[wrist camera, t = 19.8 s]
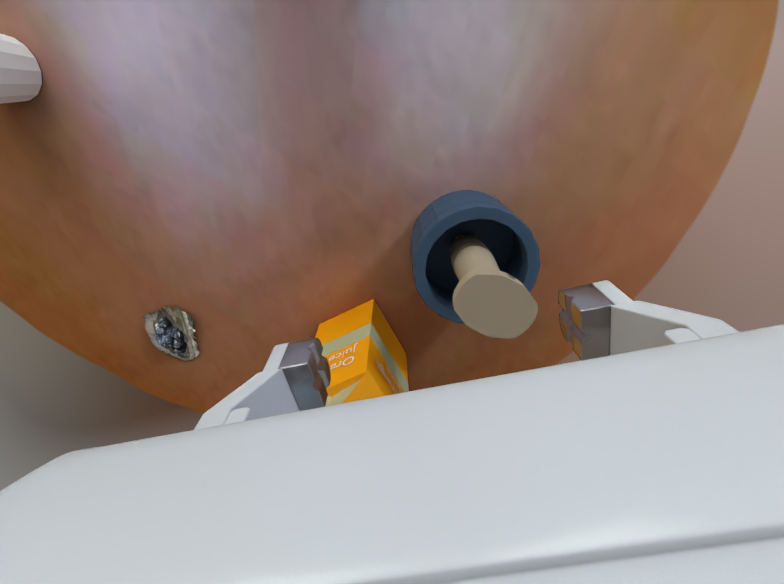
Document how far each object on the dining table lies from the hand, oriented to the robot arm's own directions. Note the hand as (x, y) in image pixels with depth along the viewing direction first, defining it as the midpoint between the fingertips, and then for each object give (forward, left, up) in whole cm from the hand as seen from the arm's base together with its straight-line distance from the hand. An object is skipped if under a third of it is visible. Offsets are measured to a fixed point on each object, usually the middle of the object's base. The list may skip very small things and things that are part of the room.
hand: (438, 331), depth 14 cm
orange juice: (+18, -9, -31) cm, 37 cm away
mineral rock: (+12, -31, -31) cm, 46 cm away
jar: (+8, +5, -31) cm, 33 cm away
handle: (+8, +5, -31) cm, 32 cm away
